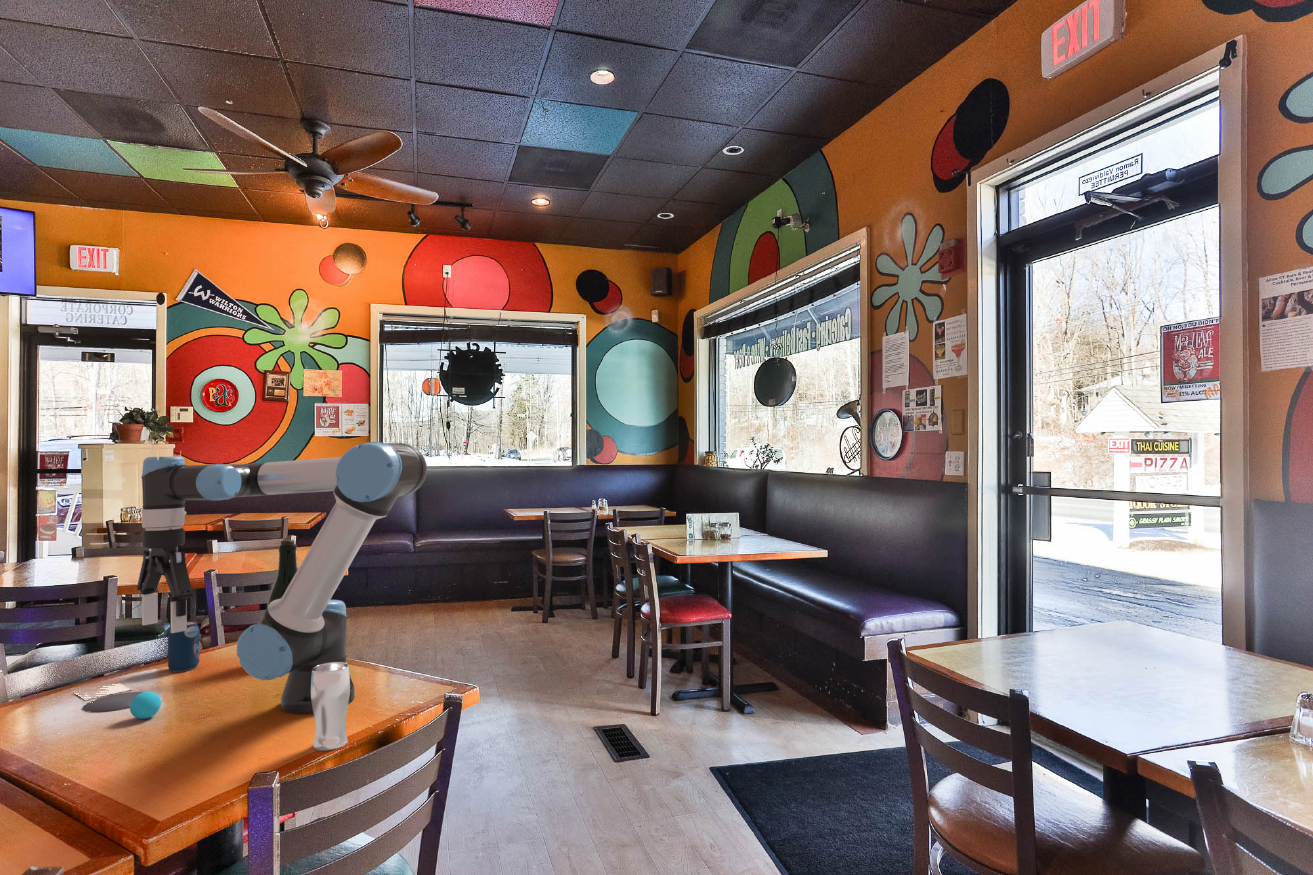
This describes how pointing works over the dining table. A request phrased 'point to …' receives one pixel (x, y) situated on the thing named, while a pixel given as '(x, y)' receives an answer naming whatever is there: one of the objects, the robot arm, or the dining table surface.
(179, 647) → the soda can
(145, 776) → the dining table surface
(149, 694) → the ball
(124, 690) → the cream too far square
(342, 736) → the beer glass
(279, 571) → the beer bottle
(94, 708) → the grey flat disc
